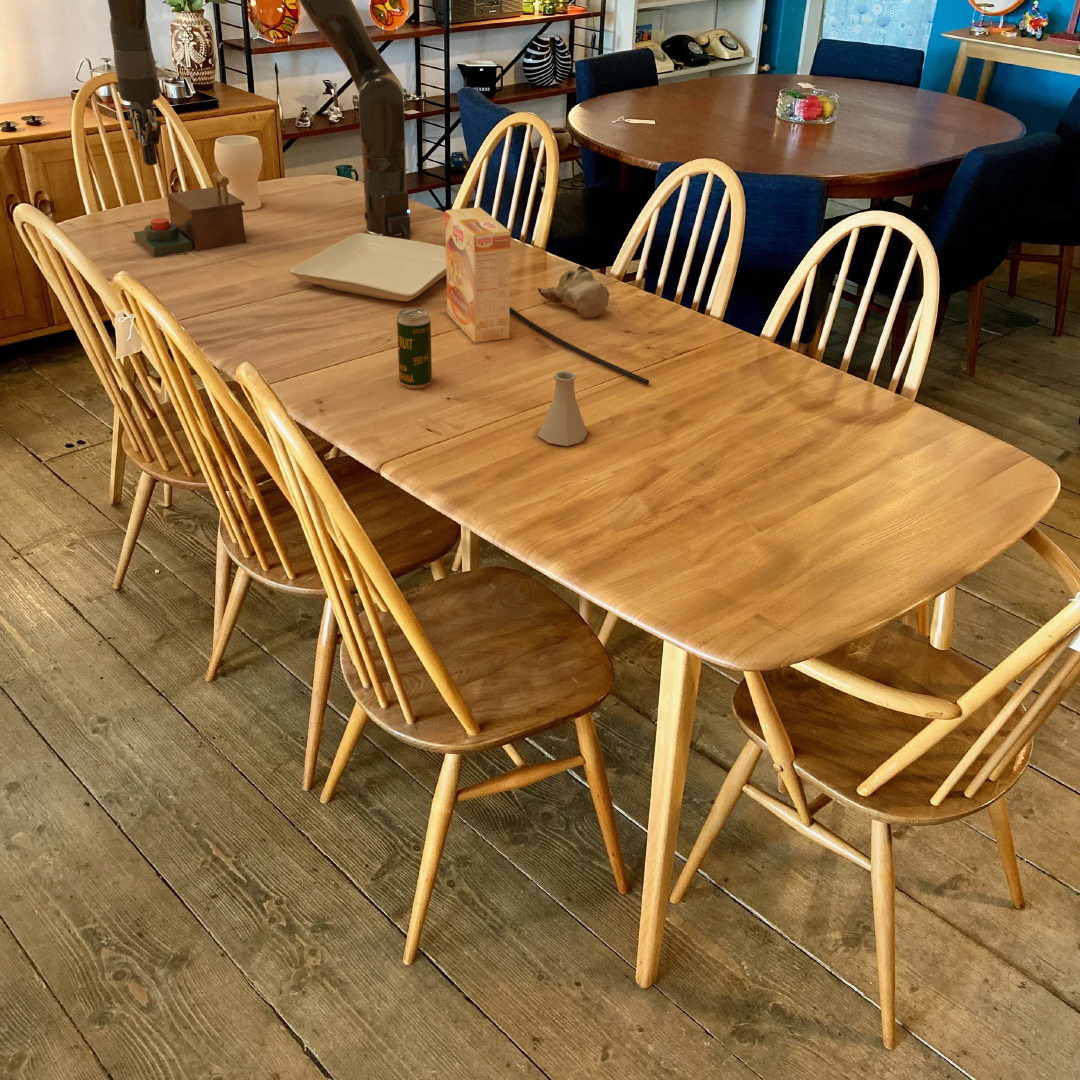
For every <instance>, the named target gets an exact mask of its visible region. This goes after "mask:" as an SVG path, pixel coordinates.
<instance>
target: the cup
mask: <svg viewBox="0 0 1080 1080" xmlns="http://www.w3.org/2000/svg"><path fill="white" fill-rule="evenodd" d="M214 142H215V143H214V152H213V155H214V162H215V165H216V167H217V169H218V173H220V174H222V175H223V176H225V177H227V178H228V179H229V184H228V185H227V192H229V193H230V194H232V195H233V196H235V197H237V198H238V199H240V200H242V201H243V202H244V203H245V205H243V206H242V212H243V211H244V212H245V211H246V212H247V211H254V210H257V209H260V208H261V207H262V202H261V198H260V194H259V191H258V180H259V177H260V174H261V172H262V167H263V160H264V159H263V150H262V147H261V144H260V140H259V138H257V137H255V136H251V135H242V134H240V135H239V134H237V135H236V134H235V135H226V136H221V137H218V138H216V139H215V140H214Z"/></svg>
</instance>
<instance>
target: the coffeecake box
mask: <svg viewBox="0 0 1080 1080" xmlns="http://www.w3.org/2000/svg"><path fill="white" fill-rule="evenodd" d="M444 219H445V220H444V223H445V247H446V273H447V275H446V314H447V316H448V317H449V318H450V319H452V321H454V323H455V324H456V325H457V326H458V327H459V328H460V329H461V330H462V331H463V332H464V333H465V334H466V335H467V337H468V338H469V339H470V340H471V341H473V342H472V343H474V344H477V343H478V344H479V343H485V342H490V341H497V340H498V341H499V340H506V339H509V338H510V312H509V306H510V304H511V303H510V302H511V300H510V298H511V297H510V296H511V294H510V292H511V233H512V232H511V230H509V229H508V228H506V227H505V226H504V225H503V224H501V223H500V222H499V221H498V220H496V218H494V217H493V216H491V214H489V213H488V212H487V211H486V210H484V209H483V208H482V207H470V208H452V209H446V210H444ZM510 307H511V306H510Z"/></svg>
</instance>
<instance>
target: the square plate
mask: <svg viewBox="0 0 1080 1080" xmlns="http://www.w3.org/2000/svg"><path fill="white" fill-rule="evenodd" d="M289 273H290V274H291V275H293V276H294V277H295V278H297V279H298V280H299V281H302V282H306V283H308V284H309V283H310V284H314V285H320V286H323V287H324V288H326V289H329V290H336V291H340V292H346V293H350V294H356V295H361V296H366V297H372V298H375V299H376V298H377V299H381V300H386V301H398V302H399V301H400V302H409V301H412V300H414V299H415V298H418V296H420V295H421V294H423V292H425V291H426V290H427V289H429V288H430V287H431V286H433V285H434V284H435V283H437V282H438V281H440V280H441V279H443V278H444V277H446V276H447V273H446V246H445V245H444V246H443V245H439V244H434V243H428V242H423V241H417V240H411V239H410V240H406V238H405V239H404V238H401V237H396V238H393V237H386V236H379V235H371V234H367V233H366V232H365V233H364V232H357V233H354V234H352V235H350V236H348V237H346V238H344V239H342V240H341V241H338V242H337V243H335V244H333V245H331V246H329V247H326V248H325V249H324V250H323V249H322V251H320V252H318V253H316V254H315V255H313V256H311V257H310V258H307V259H306V260H304V261H303V262H301V263H299V264H298V265H296V266H294V267H293V268H291V269H290V270H289Z"/></svg>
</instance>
